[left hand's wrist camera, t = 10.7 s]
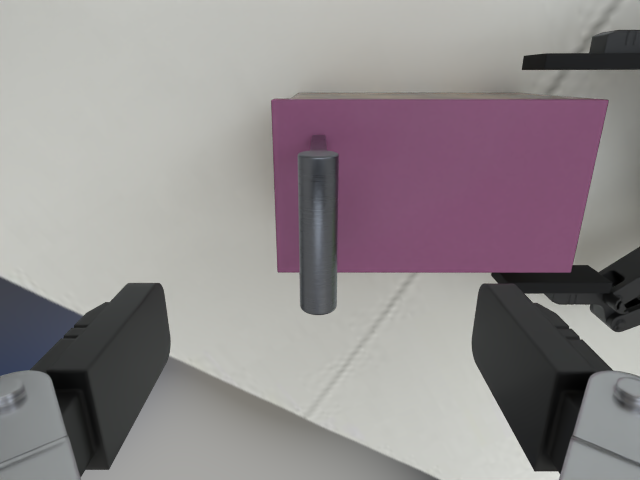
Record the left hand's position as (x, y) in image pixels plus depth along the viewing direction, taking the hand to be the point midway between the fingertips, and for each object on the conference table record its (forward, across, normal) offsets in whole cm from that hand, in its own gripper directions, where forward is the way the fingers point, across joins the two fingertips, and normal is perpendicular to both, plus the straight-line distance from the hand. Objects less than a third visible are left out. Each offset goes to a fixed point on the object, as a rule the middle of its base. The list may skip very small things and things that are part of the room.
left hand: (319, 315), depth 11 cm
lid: (+14, -6, 0) cm, 15 cm away
